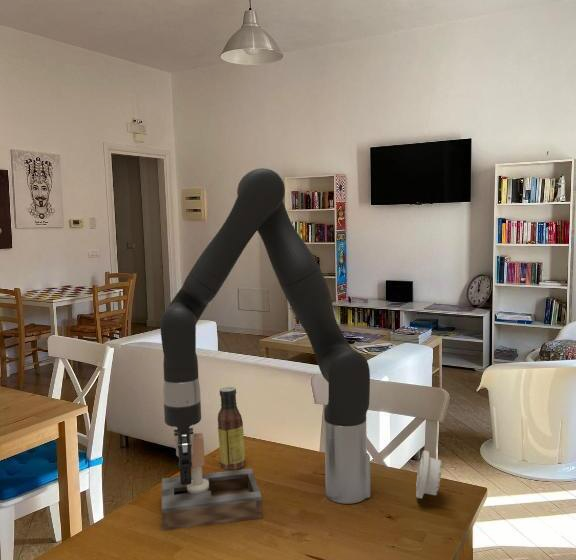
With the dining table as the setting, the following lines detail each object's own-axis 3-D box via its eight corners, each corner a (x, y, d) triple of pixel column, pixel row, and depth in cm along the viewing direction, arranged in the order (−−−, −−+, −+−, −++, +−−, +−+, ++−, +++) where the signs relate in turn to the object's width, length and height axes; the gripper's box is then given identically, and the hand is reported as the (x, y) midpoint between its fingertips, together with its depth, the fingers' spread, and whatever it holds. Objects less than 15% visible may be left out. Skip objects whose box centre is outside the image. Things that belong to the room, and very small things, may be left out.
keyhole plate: (252, 487, 130) (251, 468, 130) (262, 518, 116) (261, 496, 116) (162, 498, 126) (161, 478, 125) (162, 531, 112) (161, 509, 112)
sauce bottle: (248, 462, 144) (246, 385, 142) (241, 472, 138) (238, 392, 136) (224, 460, 146) (221, 384, 144) (215, 470, 140) (212, 391, 138)
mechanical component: (414, 484, 129) (422, 443, 128) (434, 488, 128) (442, 447, 127) (414, 505, 120) (422, 461, 118) (435, 510, 119) (444, 465, 117)
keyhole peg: (208, 482, 123) (205, 431, 122) (209, 492, 118) (207, 438, 117) (186, 485, 122) (184, 433, 121) (187, 495, 117) (184, 441, 116)
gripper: (202, 408, 112) (206, 492, 113) (198, 388, 126) (201, 463, 127) (163, 412, 110) (167, 497, 112) (163, 391, 124) (167, 467, 126)
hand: (185, 478), depth 119 cm, fingers open, 4 cm apart
